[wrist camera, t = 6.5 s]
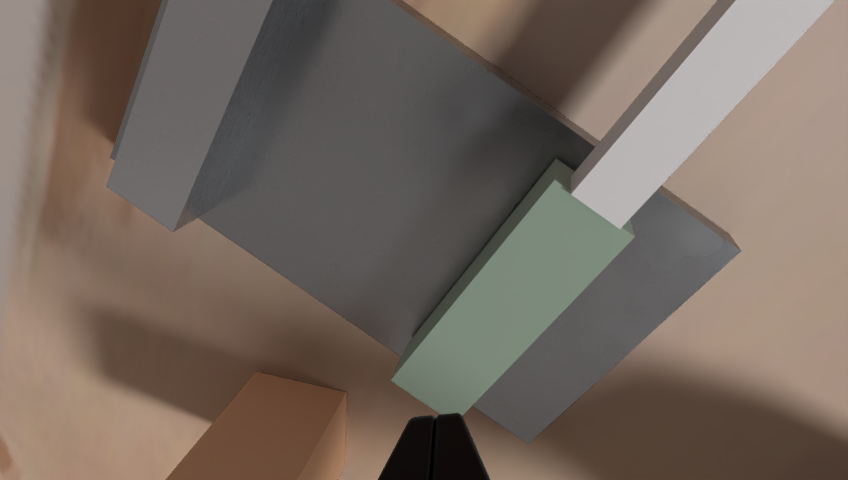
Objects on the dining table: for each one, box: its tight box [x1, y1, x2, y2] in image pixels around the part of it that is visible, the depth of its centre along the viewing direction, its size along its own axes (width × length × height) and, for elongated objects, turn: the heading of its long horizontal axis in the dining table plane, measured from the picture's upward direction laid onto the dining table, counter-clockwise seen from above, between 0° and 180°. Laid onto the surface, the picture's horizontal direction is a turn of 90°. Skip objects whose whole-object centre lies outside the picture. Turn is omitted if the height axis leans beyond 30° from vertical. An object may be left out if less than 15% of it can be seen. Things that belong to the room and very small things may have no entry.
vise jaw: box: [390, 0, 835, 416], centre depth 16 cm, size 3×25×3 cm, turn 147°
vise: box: [106, 0, 741, 444], centre depth 21 cm, size 22×12×4 cm, turn 57°
